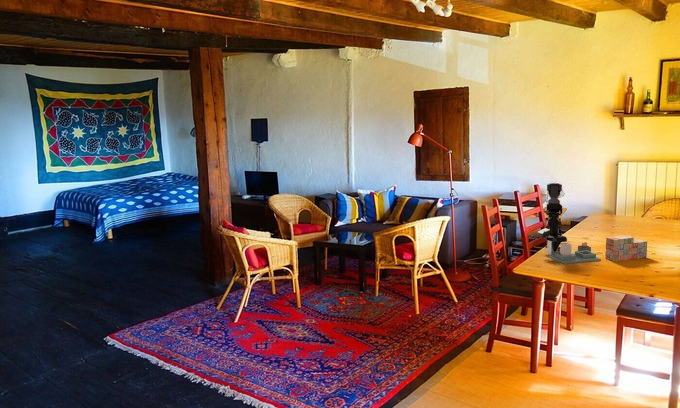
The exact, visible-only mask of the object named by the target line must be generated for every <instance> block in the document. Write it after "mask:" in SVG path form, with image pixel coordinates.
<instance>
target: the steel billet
mask: <svg viewBox="0 0 680 408" xmlns="http://www.w3.org/2000/svg"><path fill="white" fill-rule="evenodd" d="M546 246H547V247H546V249H547V251H546V253H547V255H555V253H559V252H558V251H559V248H558V249H557V250H556V252H554V251H553V243H552V242H551V240H548V245H546Z"/></svg>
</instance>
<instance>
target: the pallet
mask: <svg viewBox="0 0 680 408" xmlns="http://www.w3.org/2000/svg"><path fill="white" fill-rule="evenodd" d="M572 245H573V244H572V243H569V242H561V244H560V245H559V247H560V248H559V249H560V250H559V251H560V252H558V253H555V255H549V254H548V255H549V256H548V257H549V258H550V259H552V260H554V261H556V262H558V263H561V264H563V265H569V264H578V263H579V262H580V263H589V261H591V262H600V261H601V260H602V259H601V258H600V257H597V253H595V252H593V251H591V252H590V251H588V250H587V251H578V250H576V251H574V253H572Z"/></svg>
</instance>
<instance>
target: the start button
mask: <svg viewBox="0 0 680 408" xmlns="http://www.w3.org/2000/svg"><path fill="white" fill-rule="evenodd" d="M581 245H582V247H583V248H584V247H587V246H588V242H587V241H582V242H581Z"/></svg>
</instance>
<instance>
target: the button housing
mask: <svg viewBox="0 0 680 408" xmlns="http://www.w3.org/2000/svg"><path fill="white" fill-rule="evenodd" d="M587 250H588V251H590V252H592V246H590V245H587V247H584V248H583V247H582V244H581V245H577V251H587Z"/></svg>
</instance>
